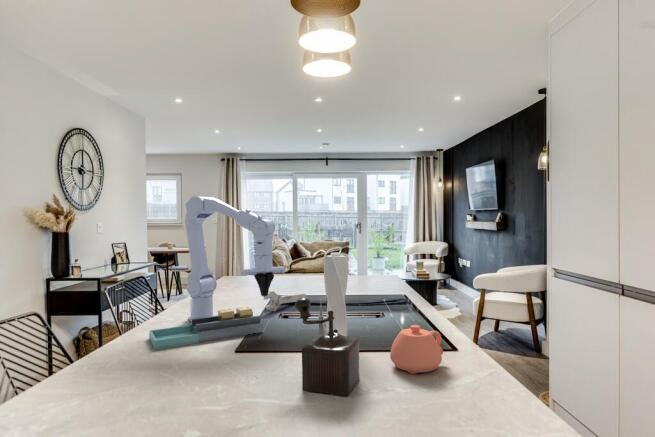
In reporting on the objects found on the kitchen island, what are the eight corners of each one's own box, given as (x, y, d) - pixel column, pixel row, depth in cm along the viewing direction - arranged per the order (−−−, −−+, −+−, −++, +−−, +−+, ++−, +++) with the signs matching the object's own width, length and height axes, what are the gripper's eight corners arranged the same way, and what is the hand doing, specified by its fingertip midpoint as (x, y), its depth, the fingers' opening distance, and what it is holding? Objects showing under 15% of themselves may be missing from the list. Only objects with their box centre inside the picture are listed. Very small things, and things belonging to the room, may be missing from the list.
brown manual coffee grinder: (361, 377, 96) (361, 299, 96) (347, 398, 85) (346, 310, 85) (299, 369, 101) (298, 295, 101) (279, 388, 91) (278, 305, 90)
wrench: (305, 306, 182) (266, 313, 156) (302, 306, 183) (262, 313, 157) (306, 288, 183) (267, 291, 156) (303, 287, 184) (263, 291, 157)
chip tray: (149, 338, 127) (149, 330, 127) (189, 332, 133) (189, 324, 133) (154, 349, 117) (154, 340, 117) (198, 342, 123) (198, 334, 123)
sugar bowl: (381, 362, 105) (381, 322, 105) (428, 355, 110) (428, 316, 110) (407, 380, 94) (407, 335, 94) (458, 371, 99) (458, 328, 99)
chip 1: (218, 322, 134) (218, 310, 134) (230, 321, 136) (230, 308, 136) (221, 325, 130) (221, 312, 130) (234, 323, 132) (234, 311, 132)
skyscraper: (327, 337, 128) (326, 246, 128) (352, 339, 126) (351, 246, 125) (317, 345, 120) (316, 248, 120) (344, 348, 118) (343, 249, 117)
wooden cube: (236, 320, 137) (236, 308, 137) (248, 318, 139) (248, 306, 139) (240, 322, 133) (240, 310, 133) (252, 321, 135) (252, 308, 135)
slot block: (189, 332, 133) (189, 317, 133) (250, 323, 143) (249, 309, 143) (198, 342, 123) (198, 326, 123) (262, 332, 133) (262, 317, 133)
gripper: (246, 257, 132) (247, 300, 132) (288, 254, 139) (289, 295, 140) (239, 255, 138) (240, 296, 138) (280, 253, 145) (280, 291, 146)
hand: (264, 295), depth 139 cm, fingers closed
